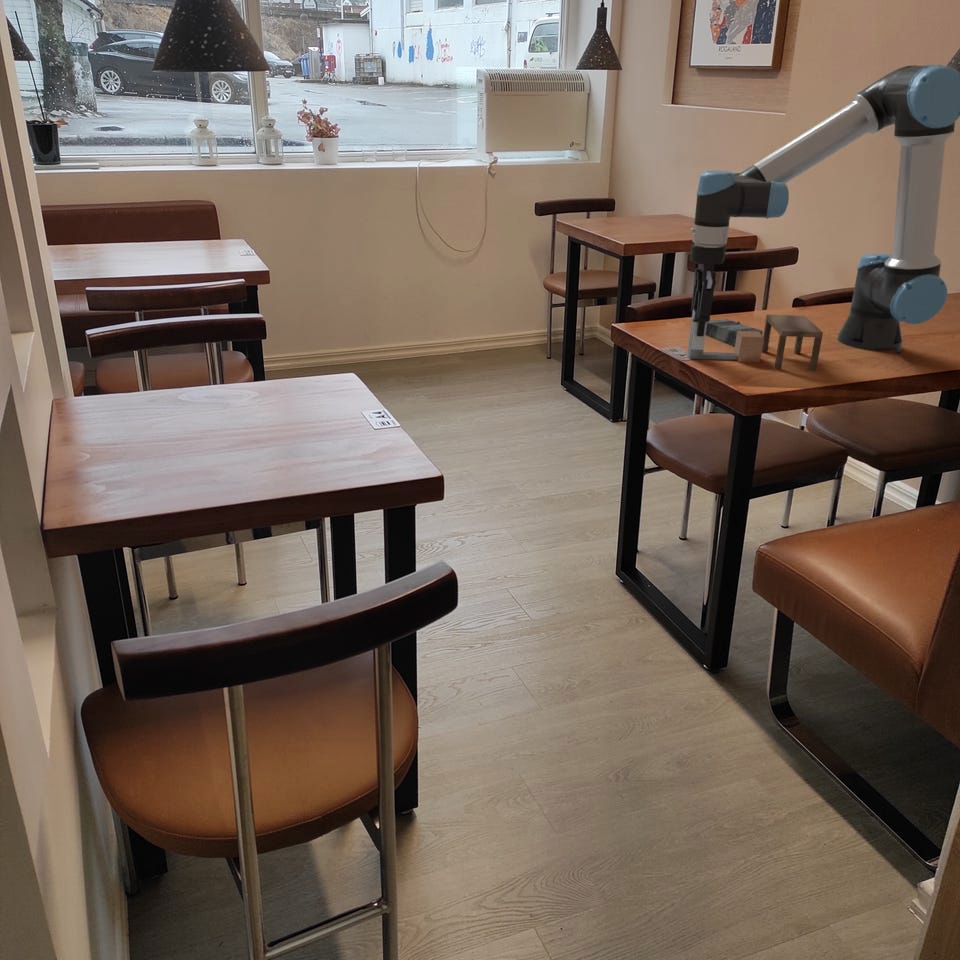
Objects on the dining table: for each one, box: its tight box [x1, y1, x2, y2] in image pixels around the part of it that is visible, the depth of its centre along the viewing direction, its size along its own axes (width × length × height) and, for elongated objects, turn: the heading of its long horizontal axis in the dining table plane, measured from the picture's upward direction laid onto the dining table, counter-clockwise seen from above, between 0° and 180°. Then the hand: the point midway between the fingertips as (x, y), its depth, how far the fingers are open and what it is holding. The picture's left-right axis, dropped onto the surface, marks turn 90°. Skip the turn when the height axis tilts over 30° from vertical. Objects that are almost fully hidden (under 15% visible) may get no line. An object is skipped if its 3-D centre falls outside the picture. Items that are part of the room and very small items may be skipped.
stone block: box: [705, 318, 764, 348], centre depth 226 cm, size 9×14×5 cm, turn 24°
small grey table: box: [761, 314, 824, 372], centre depth 209 cm, size 9×15×10 cm, turn 177°
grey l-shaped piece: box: [687, 309, 764, 364], centre depth 209 cm, size 16×5×11 cm, turn 87°
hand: (696, 346), depth 210 cm, fingers closed on grey l-shaped piece, 3 cm apart
